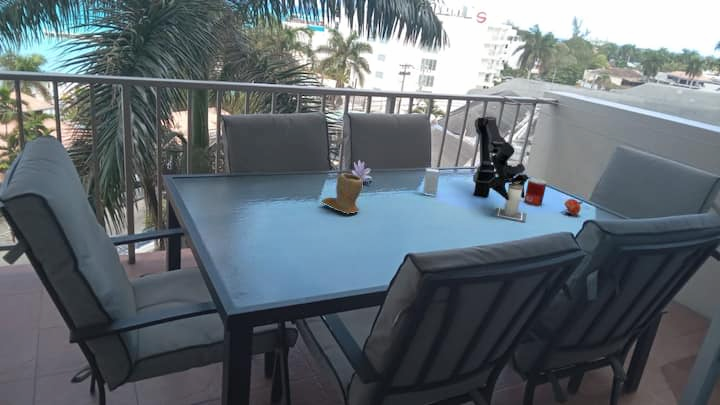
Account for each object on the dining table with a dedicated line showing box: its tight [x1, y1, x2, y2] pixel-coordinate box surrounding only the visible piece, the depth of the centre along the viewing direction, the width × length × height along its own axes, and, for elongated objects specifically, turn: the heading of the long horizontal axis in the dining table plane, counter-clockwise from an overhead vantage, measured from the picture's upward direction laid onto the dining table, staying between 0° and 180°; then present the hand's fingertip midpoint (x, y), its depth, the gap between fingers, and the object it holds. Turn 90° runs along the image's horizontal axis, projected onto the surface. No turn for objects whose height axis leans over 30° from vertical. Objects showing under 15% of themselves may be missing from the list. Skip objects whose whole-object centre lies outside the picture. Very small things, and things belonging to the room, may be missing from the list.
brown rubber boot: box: [320, 172, 364, 213], centre depth 194 cm, size 15×12×15 cm
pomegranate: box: [560, 198, 583, 216], centre depth 214 cm, size 7×7×10 cm
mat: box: [493, 207, 527, 224], centre depth 207 cm, size 13×11×1 cm
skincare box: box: [423, 168, 440, 196], centre depth 223 cm, size 6×4×12 cm
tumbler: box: [503, 183, 523, 217], centre depth 204 cm, size 6×6×13 cm
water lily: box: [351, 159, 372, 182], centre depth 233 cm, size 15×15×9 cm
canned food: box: [523, 177, 547, 206], centre depth 225 cm, size 8×8×11 cm
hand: (516, 198), depth 203 cm, fingers open, 9 cm apart
